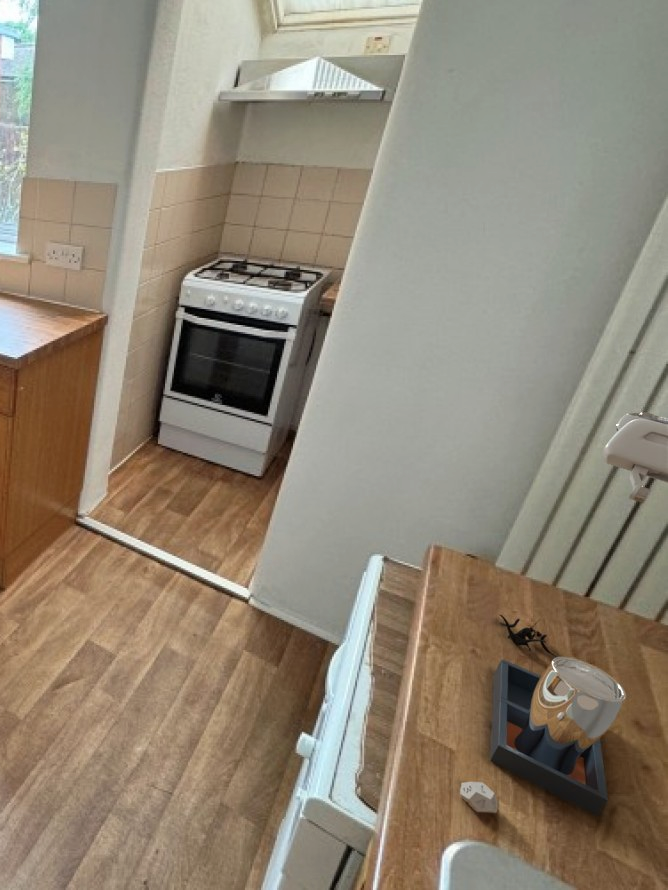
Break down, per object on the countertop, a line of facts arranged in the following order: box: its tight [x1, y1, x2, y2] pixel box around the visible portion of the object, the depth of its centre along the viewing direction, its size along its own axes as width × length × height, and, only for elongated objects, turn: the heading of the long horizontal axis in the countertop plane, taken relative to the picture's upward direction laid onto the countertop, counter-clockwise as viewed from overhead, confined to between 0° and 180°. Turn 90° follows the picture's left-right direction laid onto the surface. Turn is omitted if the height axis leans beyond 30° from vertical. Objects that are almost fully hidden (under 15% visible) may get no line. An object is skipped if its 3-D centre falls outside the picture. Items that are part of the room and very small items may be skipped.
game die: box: [459, 781, 499, 814], centre depth 76 cm, size 4×4×3 cm
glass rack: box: [489, 658, 609, 817], centre depth 84 cm, size 19×10×4 cm, turn 136°
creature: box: [499, 614, 557, 658], centre depth 100 cm, size 8×5×8 cm
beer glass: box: [511, 656, 627, 778], centre depth 78 cm, size 7×7×15 cm
